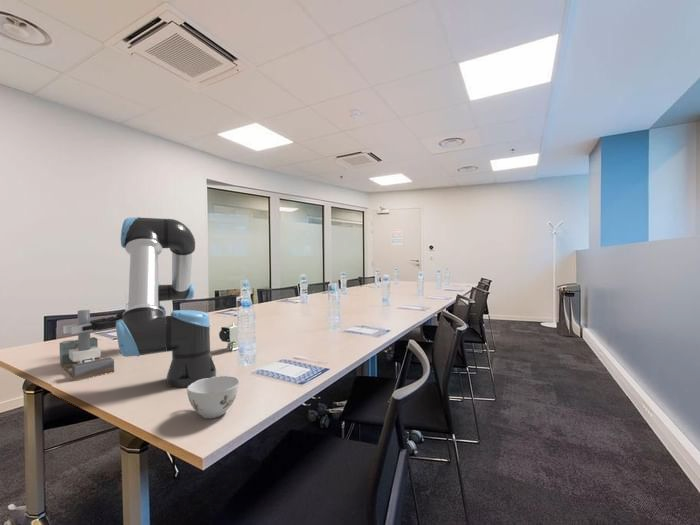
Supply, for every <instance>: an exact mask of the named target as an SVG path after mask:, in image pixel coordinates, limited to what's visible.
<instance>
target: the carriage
mask: <svg viewBox="0 0 700 525" xmlns="http://www.w3.org/2000/svg"><path fill="white" fill-rule="evenodd" d="M90 321H91V310H90V309H81V310H77V324H78V326H79V325H84V324H90ZM90 338H91V331H87V332H82V333H77V340H78V349H72V350H69V358H70V359H71V360H72V361H73V362H75V361H76V362H77V363H78V364H79V363H82V360H86V359H90V360H92V361H94V358H96V357H99V358H101V356H102V355H101V348H100V347H96V346H91V343H90Z"/></svg>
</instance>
